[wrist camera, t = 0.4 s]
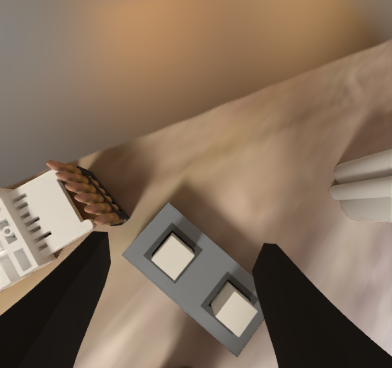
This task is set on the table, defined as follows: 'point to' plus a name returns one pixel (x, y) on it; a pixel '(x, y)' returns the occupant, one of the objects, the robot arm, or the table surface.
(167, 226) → the block
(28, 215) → the organizer
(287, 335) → the robot arm
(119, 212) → the ammunition clip
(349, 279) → the table surface
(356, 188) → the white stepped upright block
